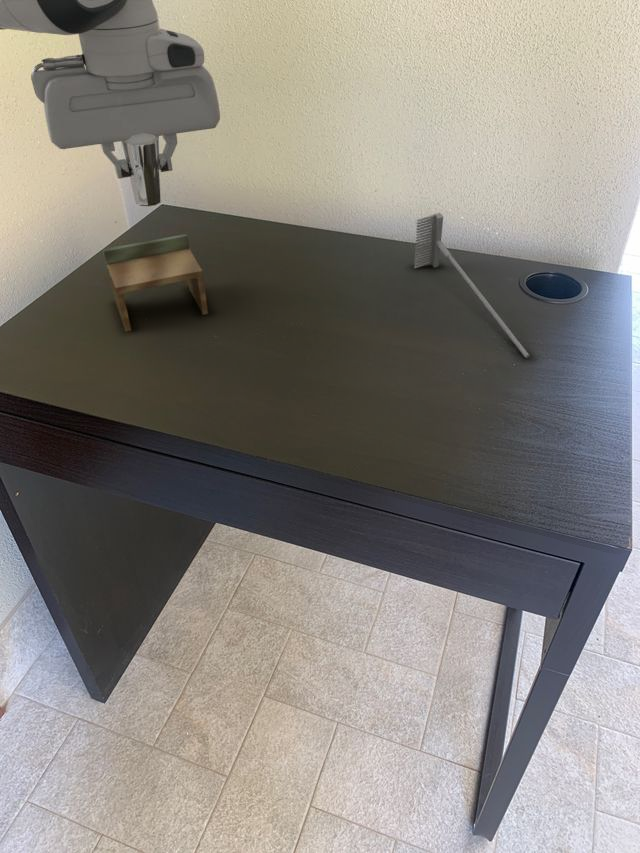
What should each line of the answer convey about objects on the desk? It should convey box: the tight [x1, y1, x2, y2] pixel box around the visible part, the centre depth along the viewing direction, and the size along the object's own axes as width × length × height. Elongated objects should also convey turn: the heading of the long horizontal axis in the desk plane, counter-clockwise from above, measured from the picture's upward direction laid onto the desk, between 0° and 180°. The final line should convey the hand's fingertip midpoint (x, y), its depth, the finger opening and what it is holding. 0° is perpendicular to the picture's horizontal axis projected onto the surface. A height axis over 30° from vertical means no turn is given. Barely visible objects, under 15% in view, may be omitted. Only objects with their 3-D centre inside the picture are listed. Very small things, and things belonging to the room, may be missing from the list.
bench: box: [102, 233, 209, 333], centre depth 98 cm, size 12×8×9 cm, turn 112°
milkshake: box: [120, 133, 161, 207], centre depth 85 cm, size 5×5×10 cm
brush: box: [413, 212, 531, 359], centre depth 98 cm, size 4×28×9 cm, turn 19°
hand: (145, 173), depth 86 cm, fingers closed on milkshake, 4 cm apart
